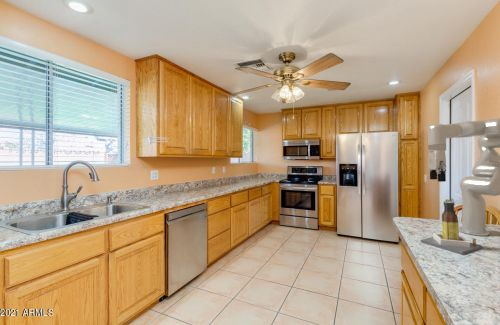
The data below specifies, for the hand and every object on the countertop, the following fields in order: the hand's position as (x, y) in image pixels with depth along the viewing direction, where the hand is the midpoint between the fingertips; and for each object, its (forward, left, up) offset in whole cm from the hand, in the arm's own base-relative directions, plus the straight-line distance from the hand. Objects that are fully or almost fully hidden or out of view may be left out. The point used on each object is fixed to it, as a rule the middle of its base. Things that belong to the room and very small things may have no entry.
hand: (437, 180), depth 125 cm
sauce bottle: (+6, +9, -30) cm, 31 cm away
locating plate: (+6, +9, -31) cm, 32 cm away
